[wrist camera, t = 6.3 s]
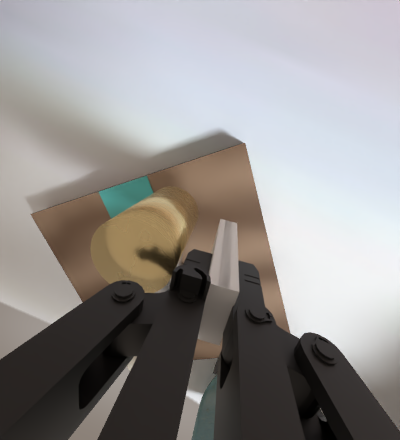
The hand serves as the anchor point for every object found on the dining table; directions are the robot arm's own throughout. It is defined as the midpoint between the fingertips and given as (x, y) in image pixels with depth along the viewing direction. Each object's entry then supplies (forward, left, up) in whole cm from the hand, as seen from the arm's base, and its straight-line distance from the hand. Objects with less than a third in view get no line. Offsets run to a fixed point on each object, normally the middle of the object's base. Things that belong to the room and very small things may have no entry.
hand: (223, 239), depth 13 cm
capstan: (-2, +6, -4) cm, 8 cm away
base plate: (-6, +8, -7) cm, 12 cm away
